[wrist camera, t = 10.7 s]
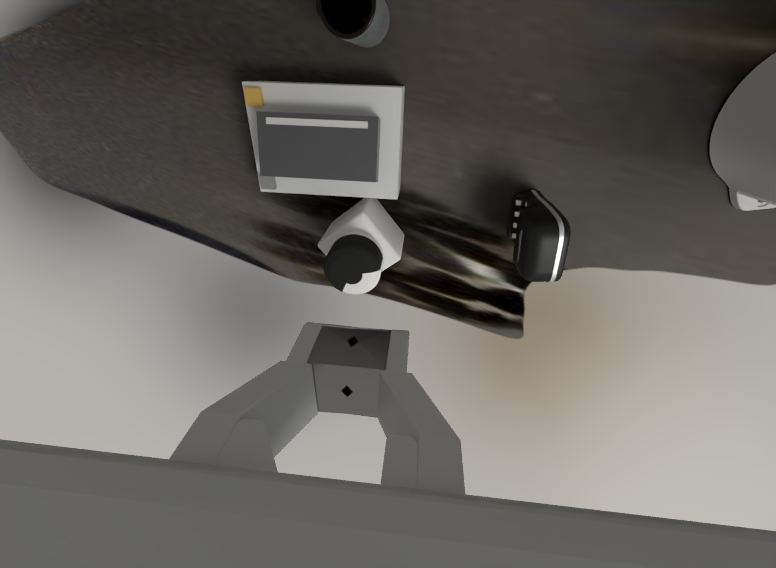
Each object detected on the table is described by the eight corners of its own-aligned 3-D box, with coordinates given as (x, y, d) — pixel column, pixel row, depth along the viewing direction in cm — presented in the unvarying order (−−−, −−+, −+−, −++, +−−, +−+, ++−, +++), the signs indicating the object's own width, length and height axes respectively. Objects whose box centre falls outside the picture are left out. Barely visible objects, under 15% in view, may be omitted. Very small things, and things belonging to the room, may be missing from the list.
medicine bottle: (330, 222, 45) (302, 266, 35) (371, 191, 42) (354, 228, 32) (364, 261, 48) (347, 312, 38) (405, 234, 45) (398, 281, 35)
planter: (347, 49, 35) (319, 41, 26) (341, -9, 32) (310, -39, 24) (391, 46, 34) (378, 37, 26) (389, -13, 32) (374, -45, 23)
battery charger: (506, 188, 40) (530, 225, 31) (539, 187, 40) (575, 223, 30) (501, 242, 44) (521, 289, 34) (531, 241, 44) (560, 289, 34)
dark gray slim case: (380, 119, 34) (378, 116, 32) (378, 182, 36) (375, 182, 34) (264, 114, 35) (255, 111, 33) (267, 175, 37) (259, 175, 35)
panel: (404, 86, 36) (401, 87, 32) (399, 189, 42) (396, 201, 38) (258, 80, 37) (237, 81, 33) (273, 182, 43) (257, 193, 39)
